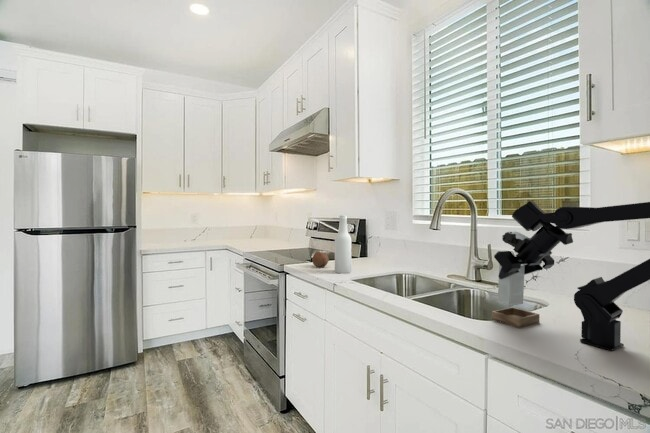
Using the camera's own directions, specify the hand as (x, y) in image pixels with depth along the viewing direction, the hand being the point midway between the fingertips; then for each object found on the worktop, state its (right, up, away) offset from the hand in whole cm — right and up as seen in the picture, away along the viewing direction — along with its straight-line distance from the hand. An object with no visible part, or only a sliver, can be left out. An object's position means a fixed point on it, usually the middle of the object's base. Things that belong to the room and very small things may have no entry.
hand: (506, 277), depth 102 cm
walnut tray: (0, -12, -4) cm, 13 cm away
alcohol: (-46, -11, +74) cm, 88 cm away
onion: (-58, -11, +90) cm, 108 cm away
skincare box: (0, -8, -1) cm, 8 cm away
